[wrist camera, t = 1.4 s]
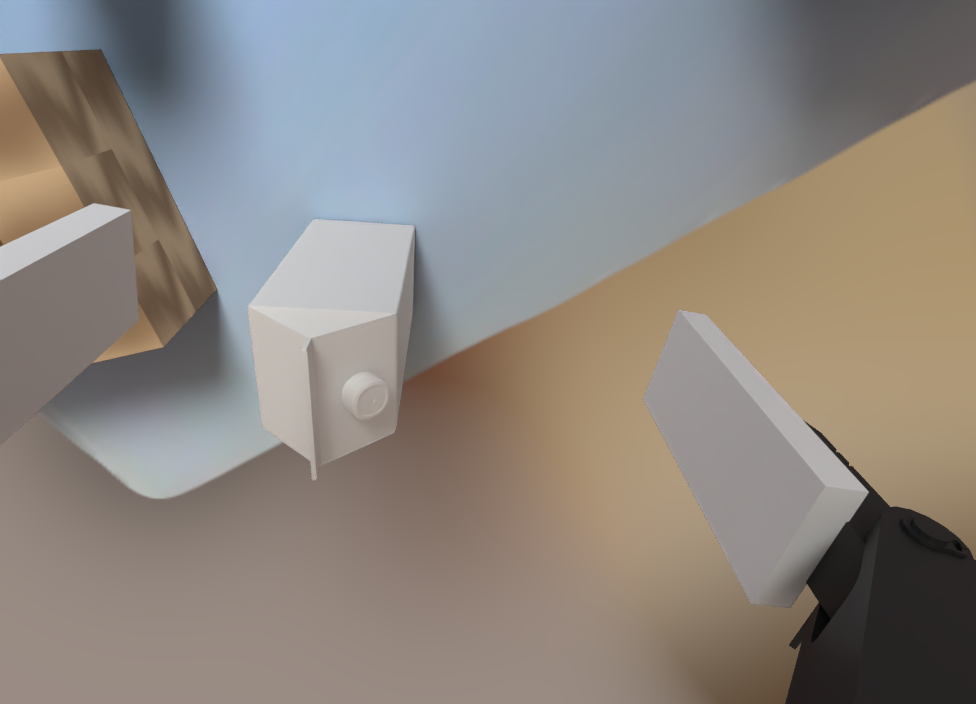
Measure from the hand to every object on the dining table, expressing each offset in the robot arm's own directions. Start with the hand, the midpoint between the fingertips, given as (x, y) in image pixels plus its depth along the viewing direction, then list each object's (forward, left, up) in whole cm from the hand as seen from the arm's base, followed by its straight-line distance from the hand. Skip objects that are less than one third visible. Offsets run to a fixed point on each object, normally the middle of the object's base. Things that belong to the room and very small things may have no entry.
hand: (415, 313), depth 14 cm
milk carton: (+8, -7, -28) cm, 30 cm away
